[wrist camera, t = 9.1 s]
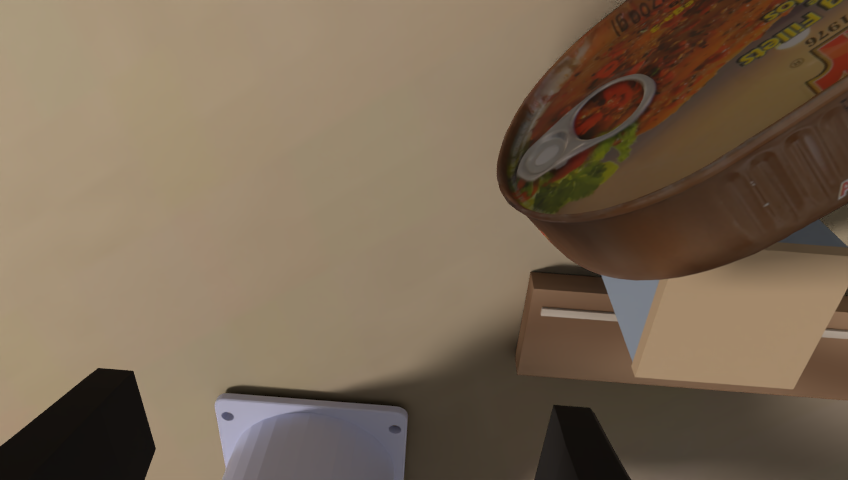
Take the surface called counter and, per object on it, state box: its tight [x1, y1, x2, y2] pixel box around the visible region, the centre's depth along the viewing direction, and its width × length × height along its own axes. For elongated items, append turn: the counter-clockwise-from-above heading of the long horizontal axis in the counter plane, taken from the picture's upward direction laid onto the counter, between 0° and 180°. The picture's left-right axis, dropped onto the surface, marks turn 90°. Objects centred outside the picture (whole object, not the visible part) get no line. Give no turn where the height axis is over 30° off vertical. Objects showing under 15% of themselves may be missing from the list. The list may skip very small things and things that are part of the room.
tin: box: [497, 0, 848, 281], centre depth 12 cm, size 15×3×8 cm, turn 131°
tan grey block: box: [601, 219, 848, 389], centre depth 17 cm, size 4×4×6 cm
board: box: [515, 272, 848, 400], centre depth 22 cm, size 4×14×1 cm, turn 87°
